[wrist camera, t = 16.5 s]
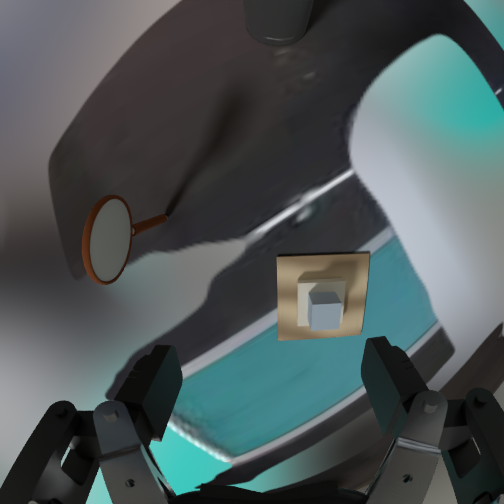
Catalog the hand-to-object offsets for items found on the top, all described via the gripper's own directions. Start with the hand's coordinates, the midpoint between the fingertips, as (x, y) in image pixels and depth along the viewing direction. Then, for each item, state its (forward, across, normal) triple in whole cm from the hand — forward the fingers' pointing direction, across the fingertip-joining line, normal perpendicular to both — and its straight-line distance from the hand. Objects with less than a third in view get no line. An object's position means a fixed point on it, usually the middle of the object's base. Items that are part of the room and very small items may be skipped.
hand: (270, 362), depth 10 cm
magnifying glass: (+29, +15, -2) cm, 33 cm away
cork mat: (+28, -8, +12) cm, 32 cm away
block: (+26, -7, +12) cm, 30 cm away
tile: (+27, -4, +12) cm, 30 cm away
